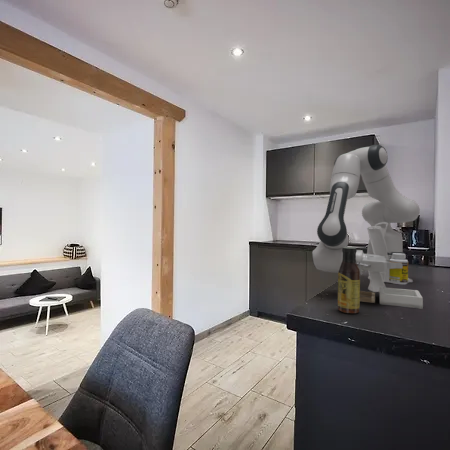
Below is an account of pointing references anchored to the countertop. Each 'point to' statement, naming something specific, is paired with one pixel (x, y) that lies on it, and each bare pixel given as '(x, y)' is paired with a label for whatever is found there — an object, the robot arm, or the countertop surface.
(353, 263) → the sauce bottle
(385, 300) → the tray
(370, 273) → the skyscraper
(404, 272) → the supplement bottle
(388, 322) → the countertop surface
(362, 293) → the wooden frame
